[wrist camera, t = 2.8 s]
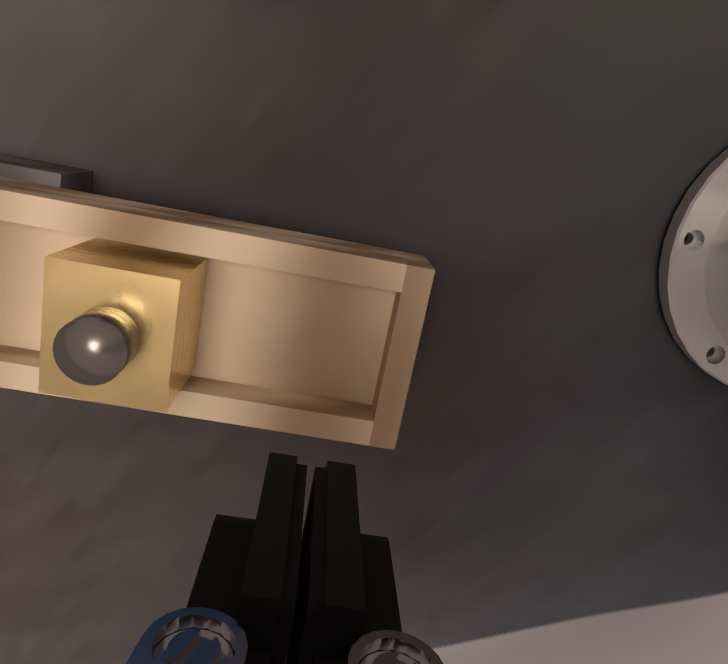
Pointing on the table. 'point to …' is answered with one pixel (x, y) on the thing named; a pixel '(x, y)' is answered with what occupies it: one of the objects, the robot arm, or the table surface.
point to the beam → (233, 308)
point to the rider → (120, 323)
